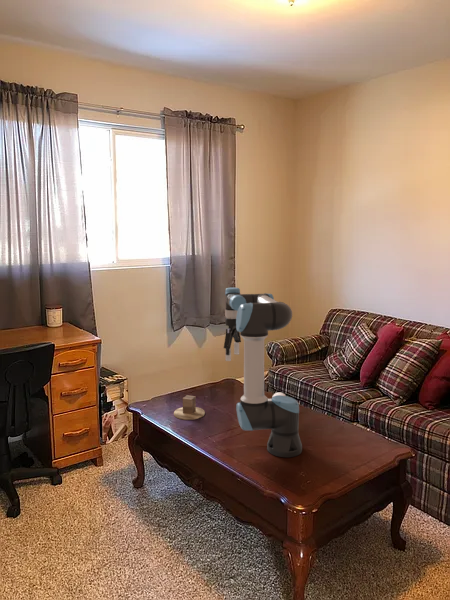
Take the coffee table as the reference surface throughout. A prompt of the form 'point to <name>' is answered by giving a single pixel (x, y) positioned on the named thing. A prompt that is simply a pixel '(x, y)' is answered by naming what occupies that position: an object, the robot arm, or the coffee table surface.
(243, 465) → the coffee table surface
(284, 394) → the mug
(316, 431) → the coffee table surface
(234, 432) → the coffee table surface
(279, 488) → the coffee table surface
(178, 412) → the plate
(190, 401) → the block
